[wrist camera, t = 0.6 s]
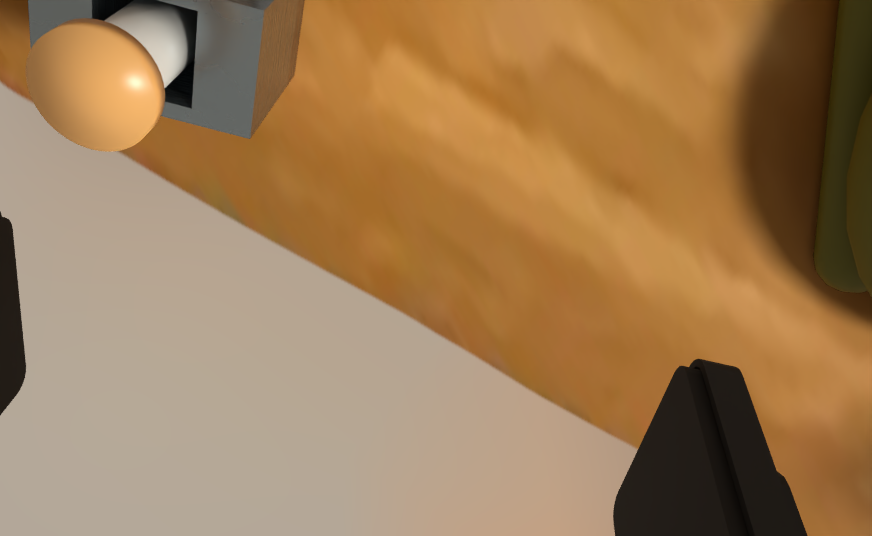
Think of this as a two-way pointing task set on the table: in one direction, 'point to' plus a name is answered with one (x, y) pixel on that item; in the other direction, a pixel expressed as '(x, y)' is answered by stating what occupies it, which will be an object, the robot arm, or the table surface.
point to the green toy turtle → (848, 158)
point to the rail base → (212, 56)
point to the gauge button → (111, 72)
